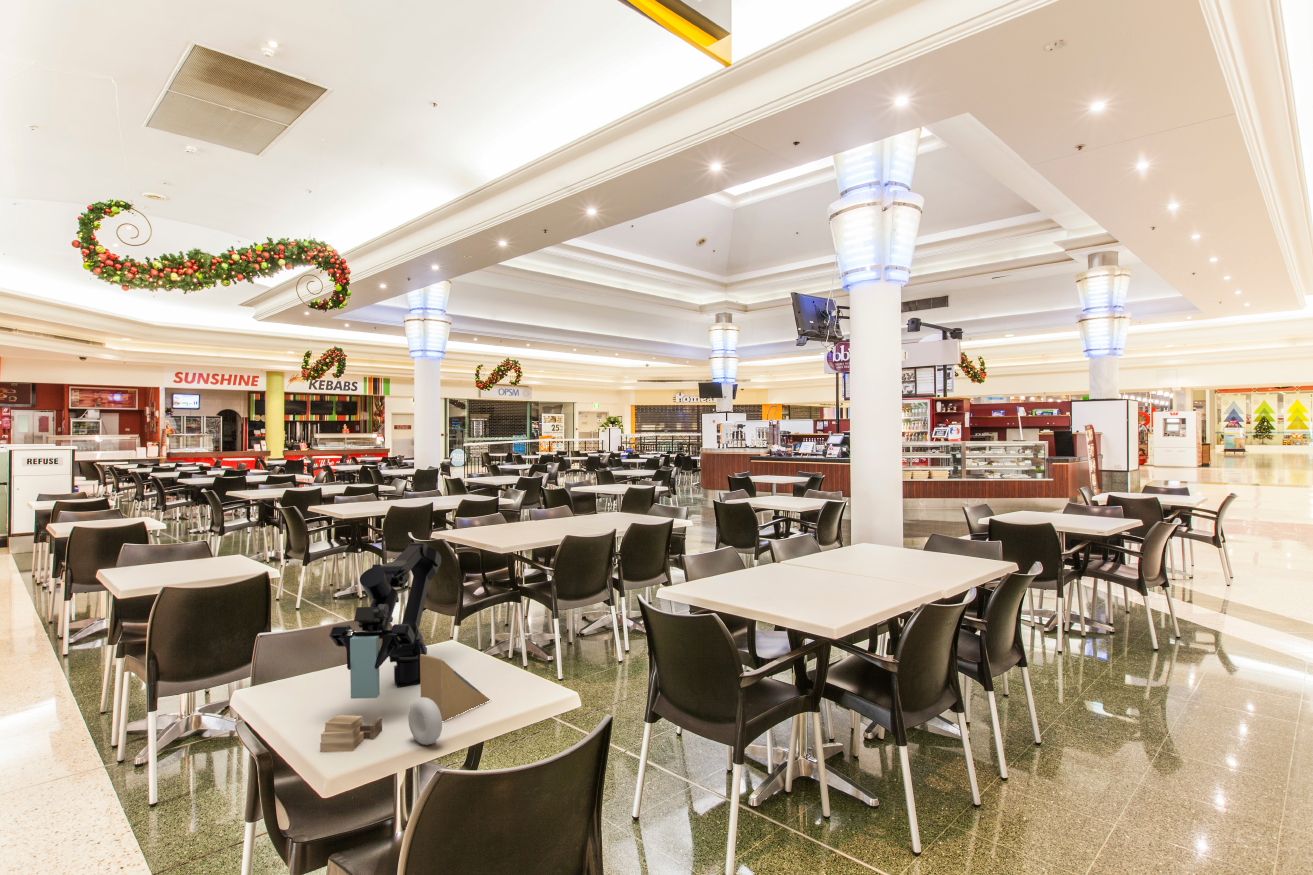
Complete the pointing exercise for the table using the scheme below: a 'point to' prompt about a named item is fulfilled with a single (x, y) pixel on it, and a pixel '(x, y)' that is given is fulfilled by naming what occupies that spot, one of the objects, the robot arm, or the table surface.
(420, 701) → the donut
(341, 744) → the offcut stack
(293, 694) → the table surface
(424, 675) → the sandwich container
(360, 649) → the teal rectangular block
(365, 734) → the rack
